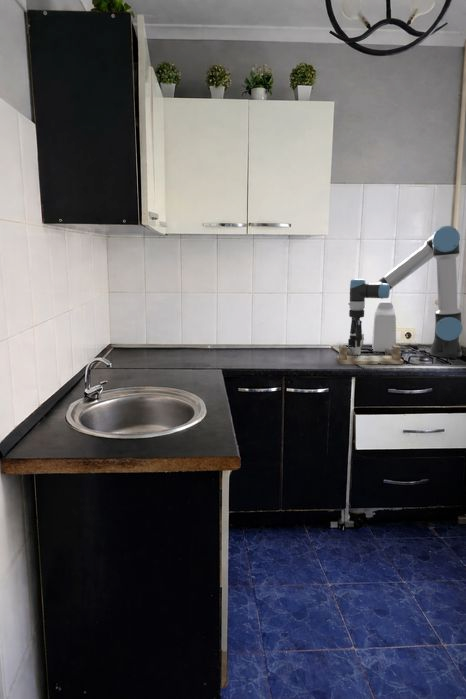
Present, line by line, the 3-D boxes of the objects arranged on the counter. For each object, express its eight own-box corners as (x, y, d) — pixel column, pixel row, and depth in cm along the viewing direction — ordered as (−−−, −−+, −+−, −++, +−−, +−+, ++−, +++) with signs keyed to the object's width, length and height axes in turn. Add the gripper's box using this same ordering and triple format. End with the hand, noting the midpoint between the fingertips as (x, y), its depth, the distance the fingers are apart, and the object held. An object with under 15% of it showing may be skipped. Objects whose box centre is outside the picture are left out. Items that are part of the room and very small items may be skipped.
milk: (372, 351, 277) (374, 303, 272) (371, 347, 288) (373, 300, 283) (396, 351, 274) (398, 303, 269) (394, 347, 285) (396, 301, 280)
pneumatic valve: (363, 353, 272) (364, 331, 269) (357, 357, 262) (357, 334, 260) (353, 352, 275) (354, 330, 272) (346, 356, 265) (347, 333, 262)
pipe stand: (396, 358, 259) (397, 343, 257) (403, 363, 247) (404, 348, 245) (336, 358, 260) (337, 344, 258) (340, 364, 248) (341, 349, 247)
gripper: (345, 306, 275) (344, 345, 280) (353, 312, 252) (352, 355, 256) (359, 306, 275) (358, 345, 279) (369, 312, 251) (367, 355, 255)
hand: (355, 350), depth 268 cm, fingers closed on pneumatic valve, 12 cm apart
